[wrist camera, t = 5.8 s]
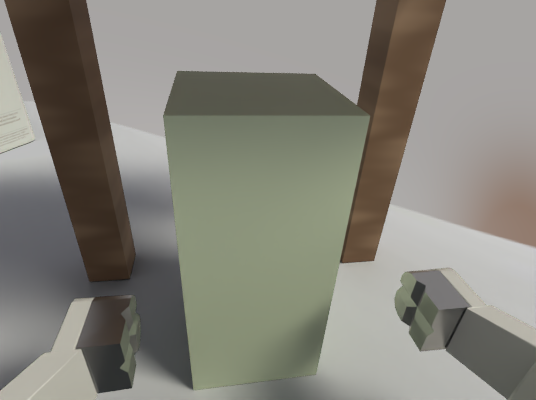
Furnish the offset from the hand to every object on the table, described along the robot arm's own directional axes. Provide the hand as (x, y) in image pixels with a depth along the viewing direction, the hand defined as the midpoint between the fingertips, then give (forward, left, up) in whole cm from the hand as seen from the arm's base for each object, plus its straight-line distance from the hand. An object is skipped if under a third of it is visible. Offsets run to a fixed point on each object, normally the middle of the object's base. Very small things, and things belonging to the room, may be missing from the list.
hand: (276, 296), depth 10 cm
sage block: (0, +3, -6) cm, 7 cm away
